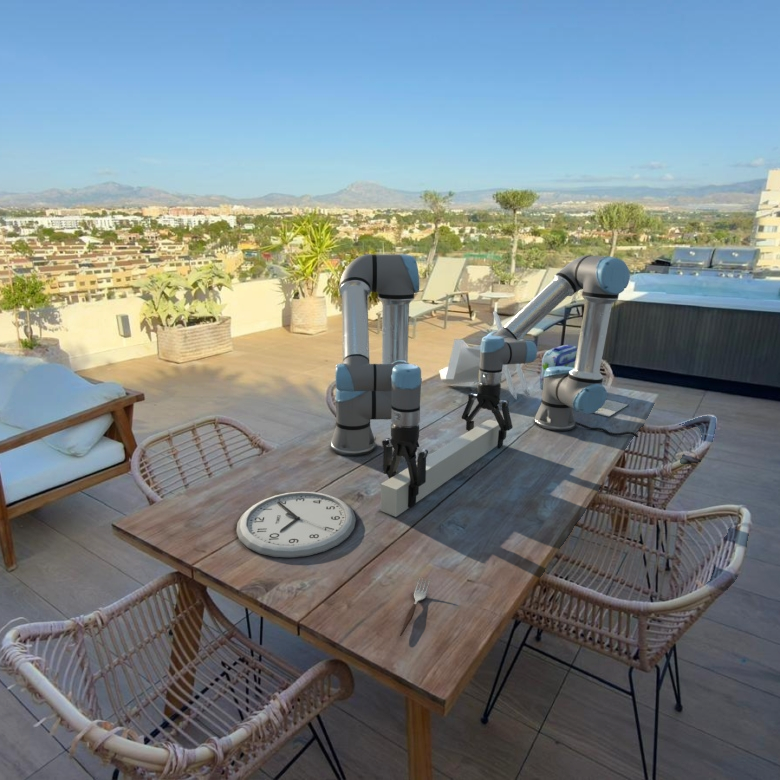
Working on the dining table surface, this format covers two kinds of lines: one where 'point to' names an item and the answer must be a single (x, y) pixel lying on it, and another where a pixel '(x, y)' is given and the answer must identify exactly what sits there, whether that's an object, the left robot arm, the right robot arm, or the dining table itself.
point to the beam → (440, 466)
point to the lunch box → (558, 359)
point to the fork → (418, 596)
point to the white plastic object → (474, 365)
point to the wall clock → (296, 524)
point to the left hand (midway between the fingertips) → (403, 501)
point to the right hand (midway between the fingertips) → (484, 443)
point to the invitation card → (610, 408)
